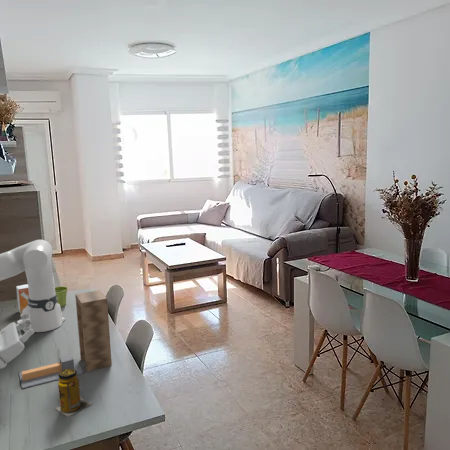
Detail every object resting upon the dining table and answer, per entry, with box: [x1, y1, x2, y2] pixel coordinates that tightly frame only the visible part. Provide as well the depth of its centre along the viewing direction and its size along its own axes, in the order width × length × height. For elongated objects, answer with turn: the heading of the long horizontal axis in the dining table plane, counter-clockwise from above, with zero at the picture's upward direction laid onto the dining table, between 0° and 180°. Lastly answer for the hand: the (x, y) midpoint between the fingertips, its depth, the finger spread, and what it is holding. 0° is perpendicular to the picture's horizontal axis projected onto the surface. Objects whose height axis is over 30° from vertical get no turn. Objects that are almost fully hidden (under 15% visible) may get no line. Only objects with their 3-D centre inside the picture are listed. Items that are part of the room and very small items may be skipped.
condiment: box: [54, 369, 92, 418], centre depth 138 cm, size 7×8×12 cm
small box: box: [15, 283, 29, 315], centre depth 220 cm, size 8×6×13 cm
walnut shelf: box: [74, 289, 113, 372], centre depth 165 cm, size 9×11×26 cm
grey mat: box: [18, 358, 84, 390], centre depth 159 cm, size 20×12×1 cm, turn 119°
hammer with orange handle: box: [21, 353, 75, 381], centre depth 159 cm, size 17×5×4 cm, turn 119°
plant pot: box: [55, 286, 69, 308], centre depth 227 cm, size 9×9×9 cm
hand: (31, 325), depth 154 cm, fingers open, 8 cm apart
